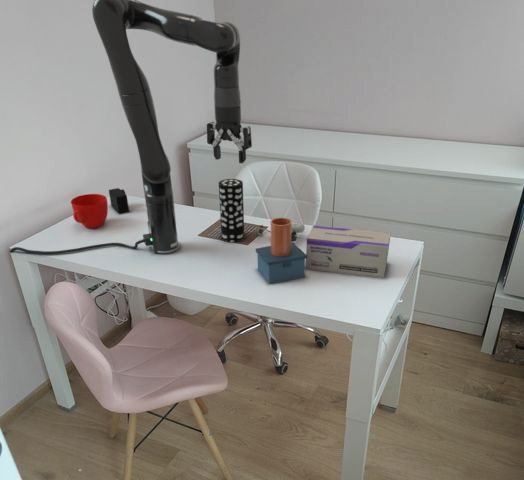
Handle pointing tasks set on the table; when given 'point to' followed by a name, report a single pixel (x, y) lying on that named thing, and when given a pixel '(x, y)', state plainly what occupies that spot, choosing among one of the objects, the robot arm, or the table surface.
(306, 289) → the table surface
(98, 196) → the ceramic cup
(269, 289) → the table surface
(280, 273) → the storage box
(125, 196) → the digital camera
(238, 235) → the white-spotted black cylinder
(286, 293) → the table surface
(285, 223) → the tumbler
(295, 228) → the clip-on lamp
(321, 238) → the surgical sutures box
